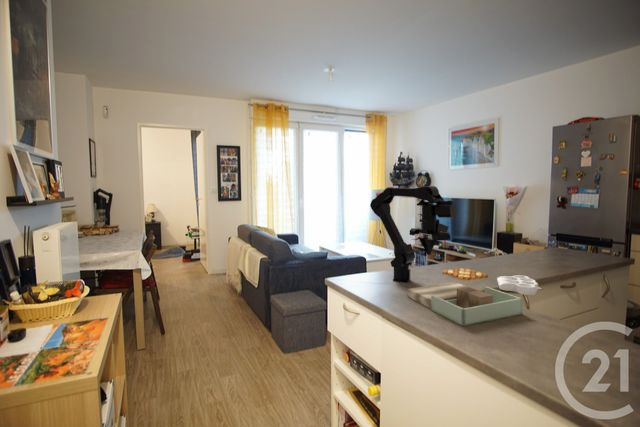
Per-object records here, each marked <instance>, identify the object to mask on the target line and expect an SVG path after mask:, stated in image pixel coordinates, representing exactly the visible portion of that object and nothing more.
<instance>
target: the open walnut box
mask: <svg viewBox="0 0 640 427" xmlns="http://www.w3.org/2000/svg"><path fill="white" fill-rule="evenodd" d="M490 303H493V295H490V294H487V293H485V292H484V291H481V290H479V289H476V288H473V287H470V286H467V287H464V288H457V306H459V307H461V308H463V309H464V308H469V307H474V306H480V305H485V304H490Z"/></svg>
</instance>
